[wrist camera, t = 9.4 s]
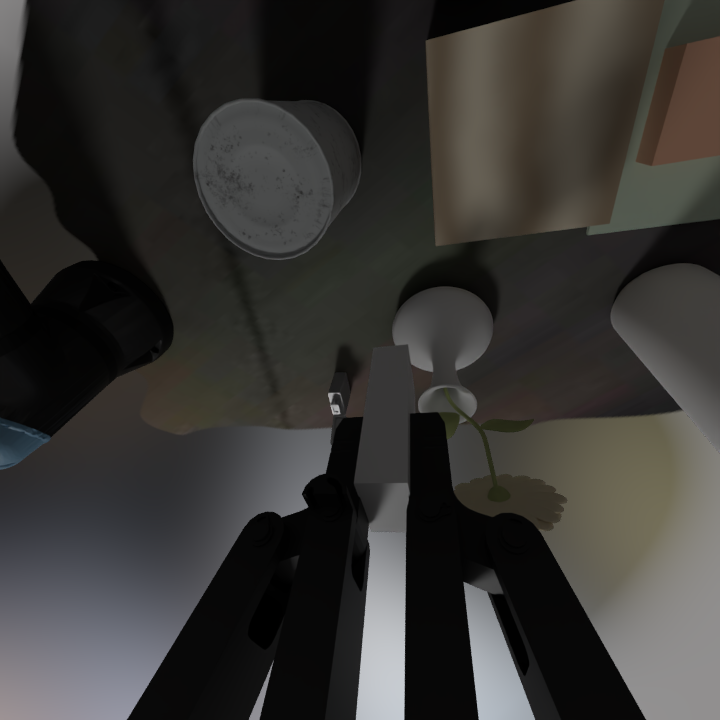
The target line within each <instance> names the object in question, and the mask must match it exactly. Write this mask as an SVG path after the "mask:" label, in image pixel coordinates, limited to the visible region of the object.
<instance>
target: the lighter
mask: <svg viewBox="0 0 720 720" xmlns="http://www.w3.org/2000/svg"><path fill="white" fill-rule="evenodd" d="M350 394H351V392H350V387H349V383H348V378H347V373H346V372H336V373H335V374H334V377H333V380H332V383H331V386H330V389H329V392H328V396H329V400H330V403H331V409H332V413H333V414H334V416H333V425H332V434H331V445H332V444H333V439H334V435H335V431H336V428H337V426H338V425H339V424H340V422H341V421H342V419H343V418H347V417H346V416H345V414H346V410H347V406H348V402H349V398H350Z"/></svg>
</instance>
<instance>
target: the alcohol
mask: <svg viewBox="0 0 720 720" xmlns="http://www.w3.org/2000/svg"><path fill="white" fill-rule="evenodd" d="M611 323H612V325H613V328H614V329H615V330H616V332H617V333H618V334H619V335H620V336H621V338H622V339H623V340H624V341H625V342H626V343H627V345H628V346H629V347H630V348H631V349H632V350H633V352H634V353H635V354H636V355H637V356H638V358H639V359H640V360H641V361H642V362H643V363H644V365H645V366H646V367H647V368H648V369H649V371H650V372H651V373H652V374H653V375H654V376H655V378H656V379H657V380H658V381H659V382H660V384H661V385H662V386H663V387H664V388H665V389H666V391H667V392H668V393H669V394H670V395H671V396H672V398H673V399H674V400H675V401H676V402H677V404H678V405H679V406H680V407H681V408H682V409H683V411H684V412H685V413H686V414H687V415H688V416H689V418H690V419H691V420H692V421H693V422H694V424H695V425H696V426H697V427H698V428H699V429H700V431H701V432H702V433H703V434H704V435H705V437H706V438H707V439H708V440H709V441H710V442H711V444H712V445H713V446H714V447H715V448H716V449H717V451H718V452H719V453H720V276H719V275H717V274H715V273H713V272H712V271H710V270H708V269H707V268H704V267H702V266H700V265H696V264H690V263H677V264H671V265H666V266H661V267H658V268H655V269H652V270H649V271H647V272H645V273H643V274H641V275H639V276H638V277H636V278H635V279H633V280H632V281H631V282H629V283H628V284H627V285H626V286H625V287H624V288H623V289H622V290H621V292H620V293H619V295H618V296H617V298H616V300H615V302H614V305H613V307H612V311H611Z"/></svg>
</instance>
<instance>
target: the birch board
mask: <svg viewBox="0 0 720 720" xmlns="http://www.w3.org/2000/svg"><path fill="white" fill-rule="evenodd" d="M664 1H665V0H575V1H572V2H568V3H564V4H560V5H557V6H553V7H549V8H546V9H542V10H538V11H534V12H531V13H527V14H523V15H519V16H516V17H512V18H508V19H504V20H501V21H497V22H493V23H489V24H486V25H482V26H478V27H475V28H471V29H467V30H463V31H460V32H456V33H452V34H448V35H445V36H441V37H437V38H433V39H430V40H426V67H427V87H428V108H429V128H430V148H431V169H432V189H433V210H434V230H435V243H436V246H440V245H448V244H456V243H464V242H472V241H479V240H487V239H495V238H503V237H510V236H518V235H526V234H534V233H541V232H549V231H557V230H565V229H572V228H580V227H588V226H596V225H604V224H610V221H611V216H612V212H613V208H614V204H615V200H616V196H617V192H618V188H619V184H620V180H621V176H622V172H623V168H624V164H625V160H626V155H627V151H628V147H629V143H630V139H631V135H632V131H633V127H634V123H635V119H636V115H637V111H638V107H639V103H640V99H641V95H642V90H643V86H644V82H645V78H646V74H647V70H648V66H649V62H650V58H651V54H652V50H653V46H654V42H655V38H656V34H657V30H658V25H659V21H660V17H661V13H662V9H663V5H664Z"/></svg>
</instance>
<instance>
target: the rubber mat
mask: <svg viewBox="0 0 720 720" xmlns="http://www.w3.org/2000/svg"><path fill="white" fill-rule="evenodd" d="M718 36H720V0H665V1H664V5H663V9H662V13H661V17H660V21H659V25H658V30H657V34H656V38H655V42H654V46H653V50H652V54H651V58H650V62H649V66H648V70H647V74H646V78H645V82H644V86H643V90H642V95H641V99H640V103H639V107H638V111H637V115H636V119H635V123H634V127H633V131H632V135H631V139H630V143H629V147H628V151H627V155H626V160H625V164H624V168H623V172H622V176H621V180H620V184H619V188H618V192H617V196H616V200H615V204H614V208H613V212H612V216H611V221H610V224H604V225H596V226H588V227H587V231H586V234H587V235H593V234H601V233H610V232H618V231H626V230H634V229H642V228H650V227H658V226H666V225H674V224H682V223H690V222H699V221H707V220H715V219H720V155H719V156H713V157H707V158H700V159H694V160H688V161H681V162H675V163H669V164H663V165H656V166H649V165H645V164H642V163H638V162H636V158H637V154H638V150H639V146H640V143H641V139H642V135H643V131H644V127H645V124H646V120H647V116H648V112H649V108H650V105H651V101H652V97H653V93H654V89H655V85H656V82H657V78H658V74H659V70H660V66H661V63H662V59H663V55H664V51H665V49H666V48H670V47H674V46H679V45H683V44H687V43H692V42H696V41H701V40H705V39H710V38H714V37H718Z"/></svg>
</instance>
